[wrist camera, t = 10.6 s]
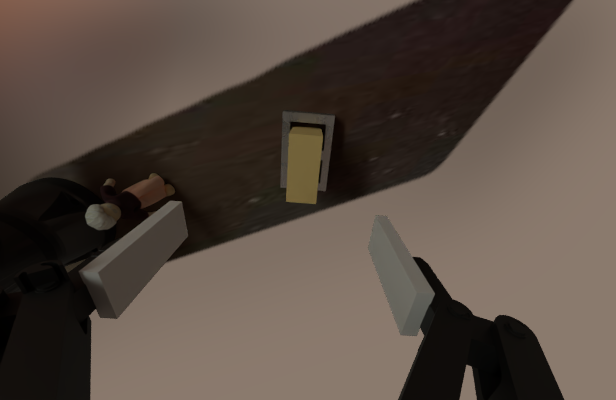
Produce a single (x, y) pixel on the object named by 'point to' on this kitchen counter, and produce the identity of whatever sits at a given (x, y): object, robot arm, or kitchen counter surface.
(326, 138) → the grey flat frame
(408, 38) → the kitchen counter surface
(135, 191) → the grandmother figurine
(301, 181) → the yellow notched block
